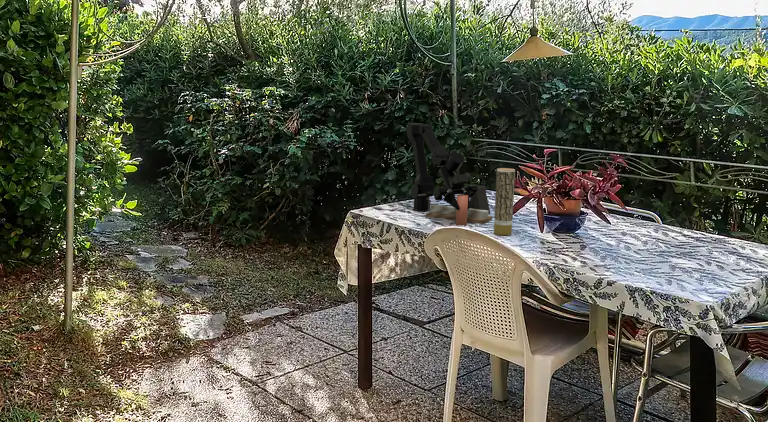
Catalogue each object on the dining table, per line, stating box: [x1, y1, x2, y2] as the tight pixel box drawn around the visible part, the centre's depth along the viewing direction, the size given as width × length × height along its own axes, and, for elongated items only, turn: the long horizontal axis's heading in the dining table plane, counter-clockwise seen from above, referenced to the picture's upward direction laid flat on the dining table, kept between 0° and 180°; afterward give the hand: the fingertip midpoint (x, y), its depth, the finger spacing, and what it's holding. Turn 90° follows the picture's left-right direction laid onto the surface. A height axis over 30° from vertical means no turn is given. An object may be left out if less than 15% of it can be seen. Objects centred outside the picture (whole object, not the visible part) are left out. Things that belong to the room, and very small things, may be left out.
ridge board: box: [425, 203, 493, 225], centre depth 278 cm, size 26×10×4 cm, turn 62°
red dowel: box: [455, 194, 468, 227], centre depth 265 cm, size 4×4×12 cm
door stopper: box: [469, 185, 491, 215], centre depth 289 cm, size 9×6×12 cm, turn 39°
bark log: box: [493, 167, 516, 237], centre depth 249 cm, size 7×7×25 cm
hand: (463, 209), depth 264 cm, fingers closed on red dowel, 4 cm apart
